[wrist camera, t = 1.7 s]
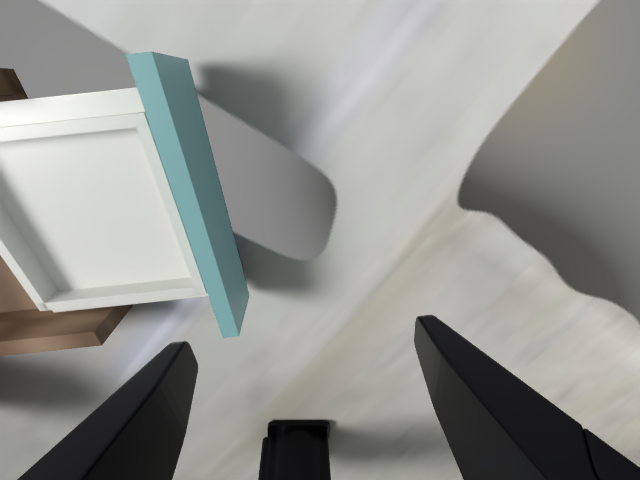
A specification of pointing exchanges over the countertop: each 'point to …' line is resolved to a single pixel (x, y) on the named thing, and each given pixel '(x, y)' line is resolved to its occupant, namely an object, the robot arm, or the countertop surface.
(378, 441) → the countertop surface
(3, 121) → the teal drawer
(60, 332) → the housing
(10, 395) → the countertop surface
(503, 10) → the countertop surface
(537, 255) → the countertop surface
